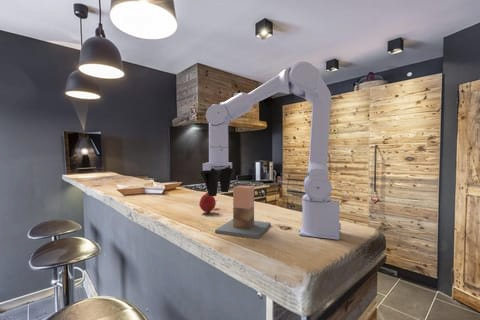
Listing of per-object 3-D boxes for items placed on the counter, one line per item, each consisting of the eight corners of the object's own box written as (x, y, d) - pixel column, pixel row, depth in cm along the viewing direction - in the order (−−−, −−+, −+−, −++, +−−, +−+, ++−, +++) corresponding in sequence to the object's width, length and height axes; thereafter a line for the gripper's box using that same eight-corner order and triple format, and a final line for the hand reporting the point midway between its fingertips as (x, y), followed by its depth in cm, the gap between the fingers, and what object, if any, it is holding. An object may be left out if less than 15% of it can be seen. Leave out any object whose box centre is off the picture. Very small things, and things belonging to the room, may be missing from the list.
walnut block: (254, 224, 64) (254, 205, 64) (248, 229, 60) (248, 208, 60) (239, 223, 66) (239, 204, 66) (233, 227, 62) (233, 207, 62)
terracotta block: (254, 205, 64) (254, 186, 64) (248, 208, 60) (248, 188, 60) (239, 204, 66) (239, 185, 66) (233, 207, 62) (233, 187, 62)
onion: (212, 215, 78) (212, 192, 78) (197, 214, 79) (196, 192, 79) (217, 211, 84) (217, 190, 84) (203, 211, 85) (202, 189, 85)
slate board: (270, 225, 66) (270, 222, 66) (258, 238, 55) (258, 235, 55) (233, 221, 71) (233, 218, 71) (215, 232, 60) (215, 229, 60)
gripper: (218, 148, 74) (218, 189, 74) (192, 146, 61) (193, 196, 61) (237, 148, 72) (238, 191, 72) (215, 146, 58) (216, 198, 58)
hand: (218, 193), depth 66 cm, fingers open, 7 cm apart
